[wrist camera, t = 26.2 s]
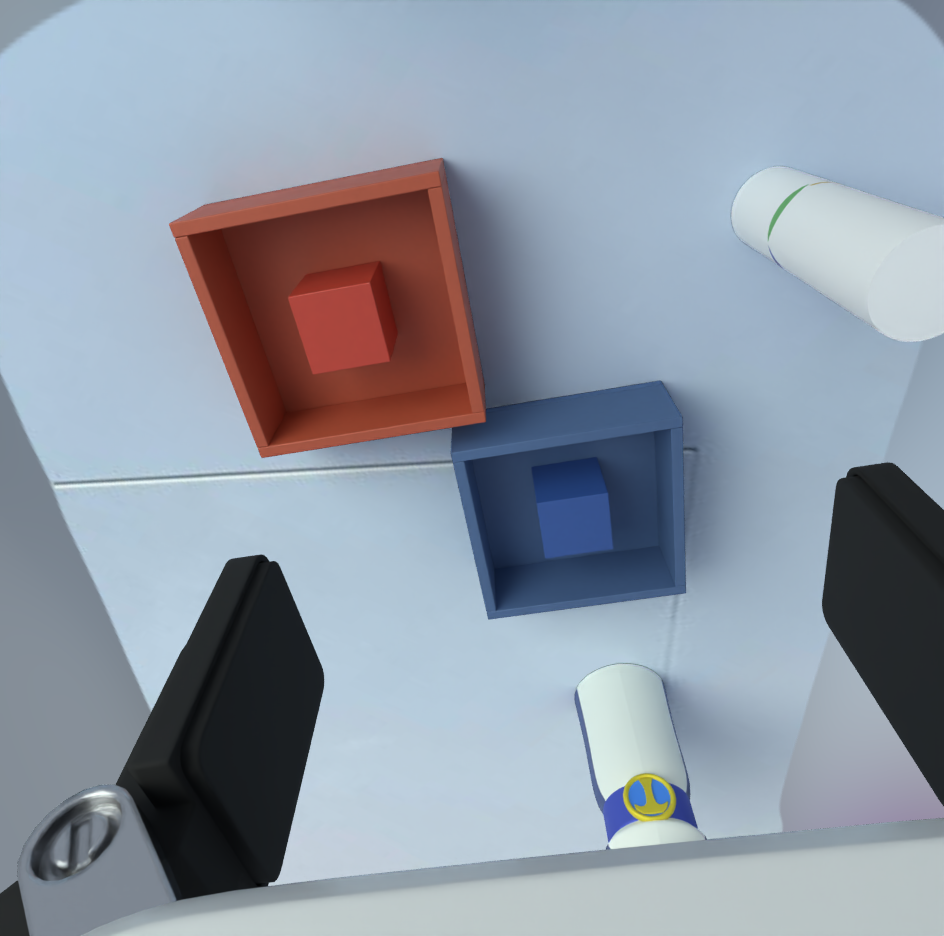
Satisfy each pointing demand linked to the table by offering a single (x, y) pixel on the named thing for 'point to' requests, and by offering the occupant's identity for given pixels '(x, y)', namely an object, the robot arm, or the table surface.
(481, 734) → the table surface
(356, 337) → the red block
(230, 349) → the red bin
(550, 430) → the blue bin
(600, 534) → the blue block
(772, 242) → the tube
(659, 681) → the water bottle
